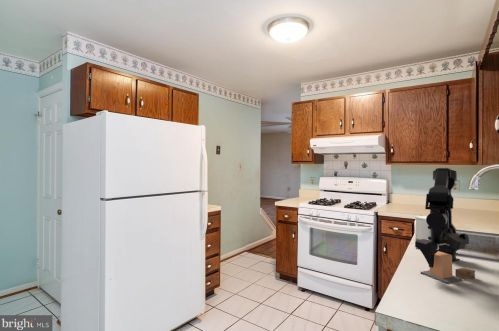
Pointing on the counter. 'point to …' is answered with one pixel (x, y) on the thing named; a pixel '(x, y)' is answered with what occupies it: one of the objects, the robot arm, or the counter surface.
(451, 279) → the charcoal mat
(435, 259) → the terracotta block
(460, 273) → the walnut block
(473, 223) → the counter surface
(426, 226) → the skincare box
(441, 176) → the robot arm
